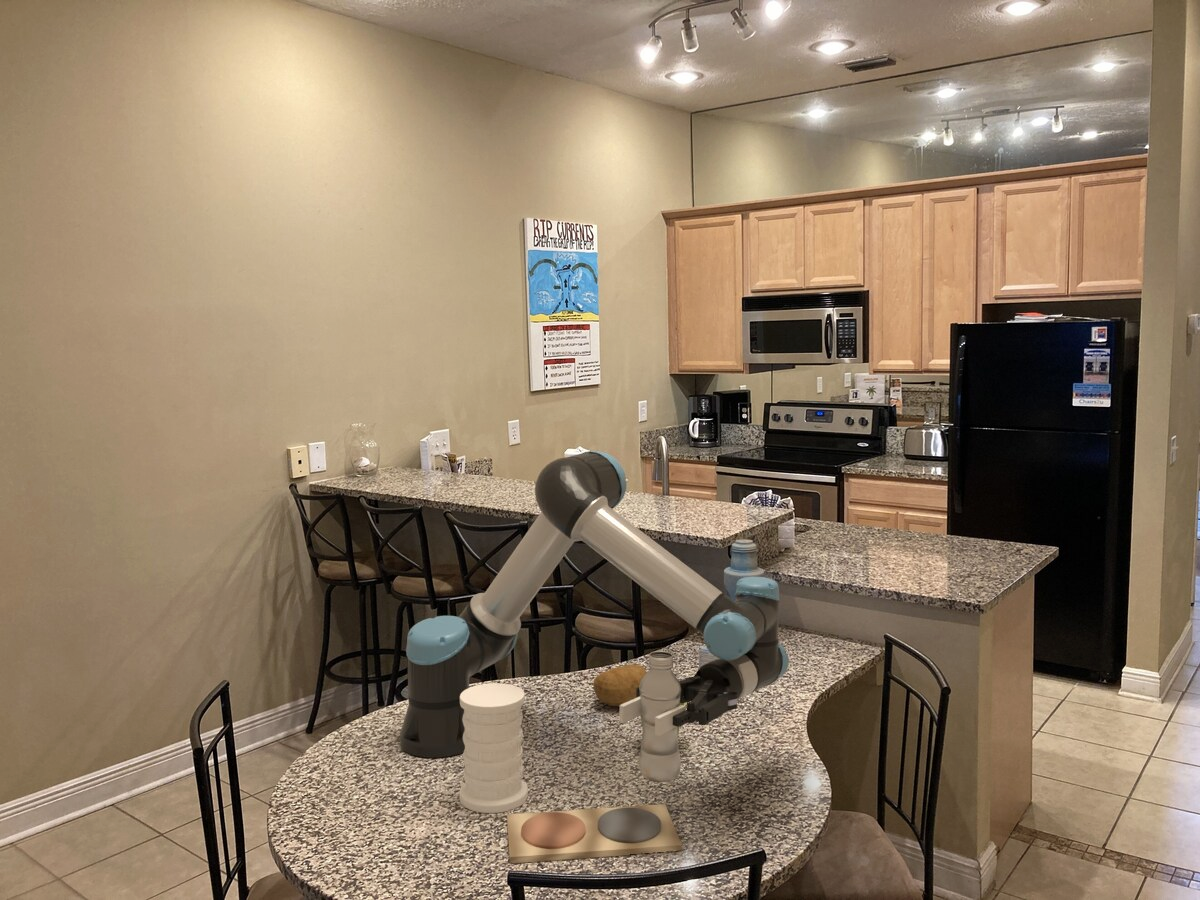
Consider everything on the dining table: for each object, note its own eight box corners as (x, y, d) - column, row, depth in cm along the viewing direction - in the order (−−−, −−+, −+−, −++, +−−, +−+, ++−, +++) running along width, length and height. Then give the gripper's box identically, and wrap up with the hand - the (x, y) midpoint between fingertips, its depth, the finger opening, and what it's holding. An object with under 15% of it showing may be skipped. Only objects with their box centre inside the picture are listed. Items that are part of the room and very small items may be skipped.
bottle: (766, 669, 225) (769, 544, 221) (725, 669, 225) (726, 544, 221) (760, 656, 234) (762, 536, 231) (720, 655, 234) (722, 536, 231)
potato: (660, 700, 205) (660, 664, 204) (616, 718, 195) (616, 681, 194) (627, 689, 212) (627, 654, 211) (582, 706, 202) (582, 670, 201)
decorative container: (470, 818, 154) (468, 712, 152) (451, 788, 165) (449, 688, 163) (537, 805, 159) (536, 701, 157) (515, 776, 169) (514, 678, 167)
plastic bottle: (669, 791, 144) (671, 665, 142) (630, 780, 148) (631, 657, 146) (687, 775, 150) (690, 652, 148) (649, 764, 153) (651, 645, 151)
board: (509, 863, 141) (509, 853, 140) (507, 820, 153) (507, 810, 153) (681, 851, 144) (681, 841, 144) (665, 809, 157) (665, 800, 156)
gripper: (773, 716, 155) (689, 762, 138) (679, 687, 168) (591, 726, 151) (774, 672, 154) (690, 713, 137) (680, 646, 167) (591, 681, 150)
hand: (639, 720), depth 144 cm, fingers closed on plastic bottle, 6 cm apart
